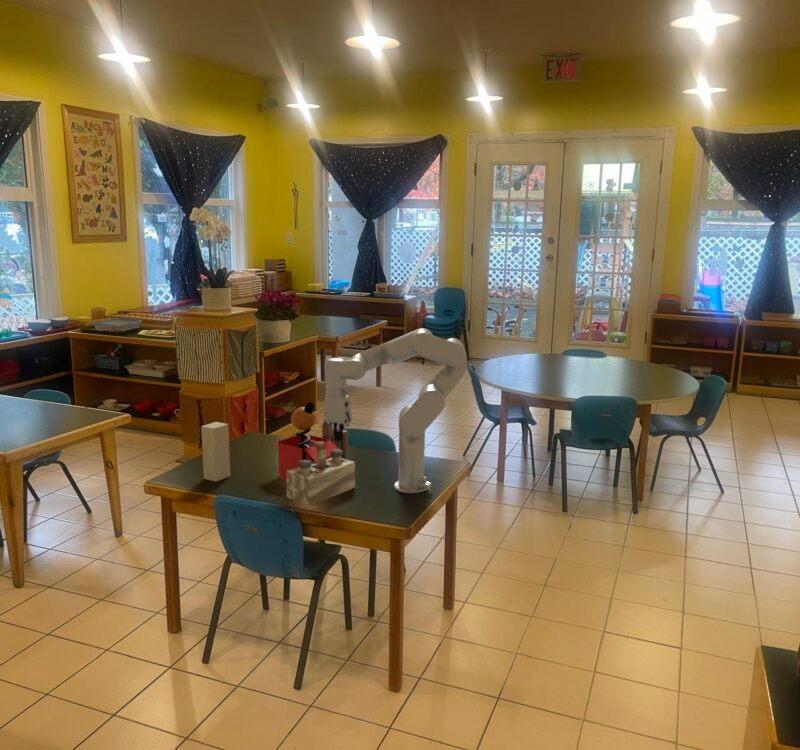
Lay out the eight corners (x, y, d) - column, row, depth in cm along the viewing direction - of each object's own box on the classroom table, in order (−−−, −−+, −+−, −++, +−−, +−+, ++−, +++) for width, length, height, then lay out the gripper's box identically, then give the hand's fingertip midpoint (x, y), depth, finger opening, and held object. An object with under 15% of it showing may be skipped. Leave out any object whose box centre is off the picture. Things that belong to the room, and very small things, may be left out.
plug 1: (314, 486, 262) (314, 461, 260) (305, 489, 259) (304, 464, 257) (305, 483, 265) (305, 458, 263) (296, 486, 261) (295, 462, 259)
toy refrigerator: (217, 472, 288) (214, 421, 284) (231, 476, 285) (228, 423, 280) (202, 478, 282) (199, 425, 277) (216, 482, 278) (213, 428, 274)
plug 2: (345, 474, 274) (345, 450, 272) (336, 477, 271) (336, 453, 269) (336, 471, 277) (336, 448, 275) (328, 475, 274) (327, 451, 272)
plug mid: (330, 467, 267) (330, 443, 265) (321, 470, 264) (320, 446, 262) (321, 464, 270) (320, 440, 268) (312, 467, 266) (311, 443, 264)
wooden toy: (333, 471, 291) (332, 410, 285) (318, 469, 293) (317, 409, 288) (349, 460, 305) (348, 401, 300) (334, 458, 307) (333, 400, 302)
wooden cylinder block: (355, 487, 274) (354, 462, 272) (310, 505, 256) (309, 478, 254) (331, 480, 281) (331, 455, 279) (286, 497, 264) (286, 470, 262)
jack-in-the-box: (343, 477, 284) (342, 402, 278) (316, 489, 272) (315, 410, 266) (294, 464, 299) (292, 392, 293) (266, 475, 286) (264, 400, 280)
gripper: (358, 392, 265) (360, 441, 269) (329, 387, 275) (331, 434, 279) (344, 396, 260) (346, 446, 264) (314, 391, 269) (316, 439, 273)
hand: (338, 440), depth 271 cm, fingers closed
